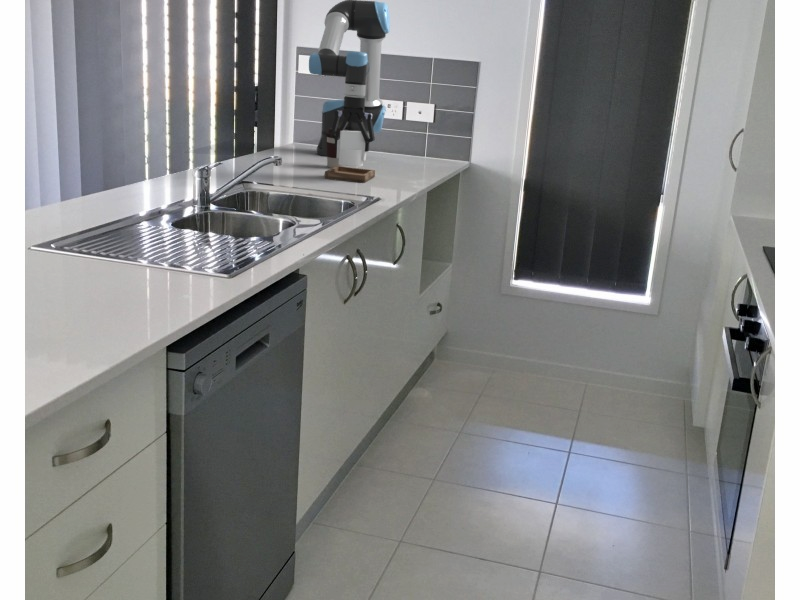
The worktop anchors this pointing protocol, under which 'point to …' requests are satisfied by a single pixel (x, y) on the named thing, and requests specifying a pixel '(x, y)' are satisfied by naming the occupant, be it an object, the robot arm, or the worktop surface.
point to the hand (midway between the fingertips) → (351, 159)
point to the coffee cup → (332, 150)
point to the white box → (351, 148)
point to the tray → (350, 174)
